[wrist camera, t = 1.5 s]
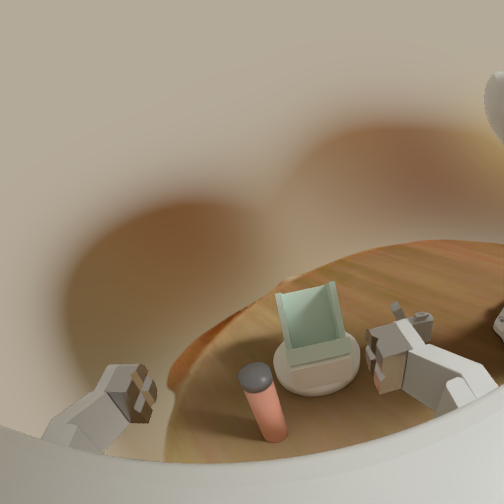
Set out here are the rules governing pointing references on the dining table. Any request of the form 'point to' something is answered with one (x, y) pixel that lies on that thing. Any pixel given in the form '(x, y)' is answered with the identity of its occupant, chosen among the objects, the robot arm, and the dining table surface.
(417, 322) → the lighter
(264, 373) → the marker
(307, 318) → the green holder stand
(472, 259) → the dining table surface
